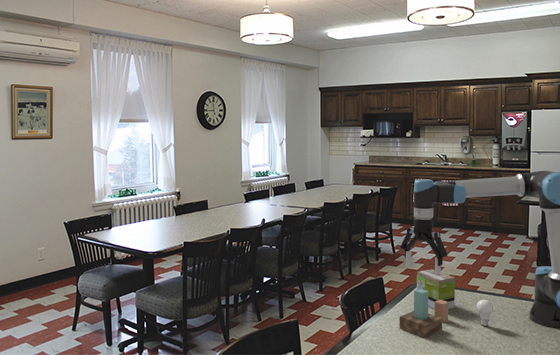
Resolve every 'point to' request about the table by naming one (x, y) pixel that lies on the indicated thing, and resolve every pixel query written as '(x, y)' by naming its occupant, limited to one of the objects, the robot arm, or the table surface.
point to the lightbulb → (484, 310)
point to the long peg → (421, 304)
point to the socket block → (420, 324)
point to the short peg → (441, 309)
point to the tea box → (437, 287)
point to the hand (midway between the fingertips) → (422, 269)
